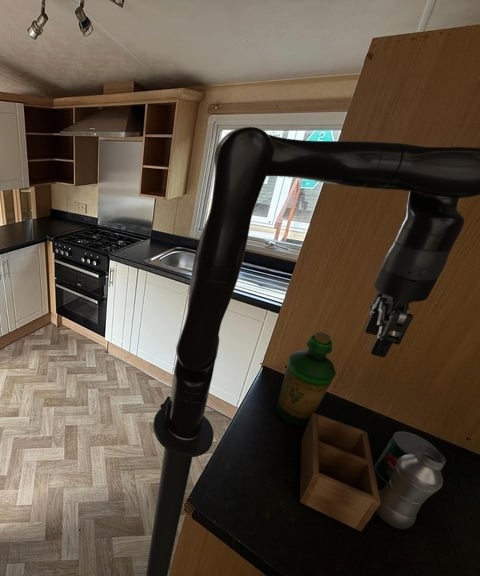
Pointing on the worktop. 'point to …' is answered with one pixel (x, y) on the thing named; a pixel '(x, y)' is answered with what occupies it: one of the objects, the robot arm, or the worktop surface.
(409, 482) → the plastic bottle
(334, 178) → the robot arm
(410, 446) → the canned tomato
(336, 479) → the bottle rack
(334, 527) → the worktop surface
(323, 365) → the bottle
